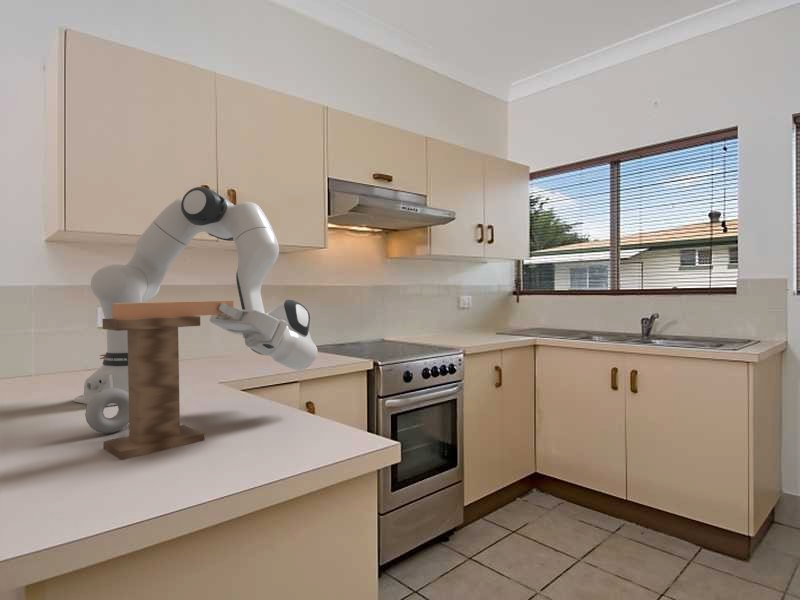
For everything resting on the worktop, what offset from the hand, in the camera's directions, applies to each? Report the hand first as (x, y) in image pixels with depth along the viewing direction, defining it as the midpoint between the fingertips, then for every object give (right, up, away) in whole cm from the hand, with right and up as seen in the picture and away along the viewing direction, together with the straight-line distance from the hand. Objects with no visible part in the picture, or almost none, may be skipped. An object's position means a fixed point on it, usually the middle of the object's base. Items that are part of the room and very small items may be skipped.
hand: (214, 305), depth 110 cm
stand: (-9, -28, -9) cm, 31 cm away
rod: (-6, -2, -6) cm, 8 cm away
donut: (-23, -28, -1) cm, 36 cm away
